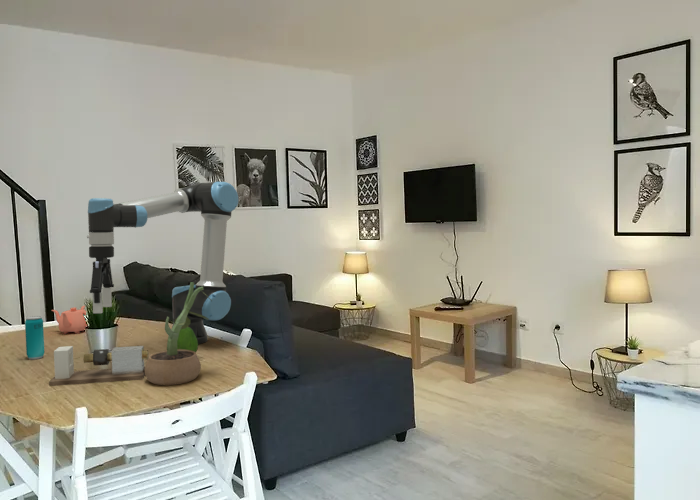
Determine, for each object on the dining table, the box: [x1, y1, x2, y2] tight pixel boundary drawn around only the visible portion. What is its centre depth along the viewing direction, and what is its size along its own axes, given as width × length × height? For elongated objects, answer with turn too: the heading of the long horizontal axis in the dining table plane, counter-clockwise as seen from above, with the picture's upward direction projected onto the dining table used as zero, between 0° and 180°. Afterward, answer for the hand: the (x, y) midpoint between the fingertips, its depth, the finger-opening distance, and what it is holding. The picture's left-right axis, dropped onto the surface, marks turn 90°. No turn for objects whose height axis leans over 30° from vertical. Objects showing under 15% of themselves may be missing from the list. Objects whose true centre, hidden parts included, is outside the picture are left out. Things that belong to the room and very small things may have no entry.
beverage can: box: [24, 315, 45, 360], centre depth 206 cm, size 6×6×15 cm
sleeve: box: [110, 345, 145, 375], centre depth 182 cm, size 9×5×8 cm, turn 103°
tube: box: [83, 348, 149, 367], centre depth 182 cm, size 19×5×5 cm, turn 103°
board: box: [48, 366, 146, 386], centre depth 181 cm, size 27×11×1 cm, turn 103°
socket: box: [53, 345, 75, 379], centre depth 178 cm, size 4×6×10 cm, turn 13°
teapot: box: [51, 305, 87, 335], centre depth 253 cm, size 14×14×11 cm
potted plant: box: [144, 281, 212, 386], centre depth 179 cm, size 22×18×30 cm
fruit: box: [177, 327, 199, 353], centre depth 203 cm, size 8×8×12 cm
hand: (102, 310), depth 187 cm, fingers open, 13 cm apart
